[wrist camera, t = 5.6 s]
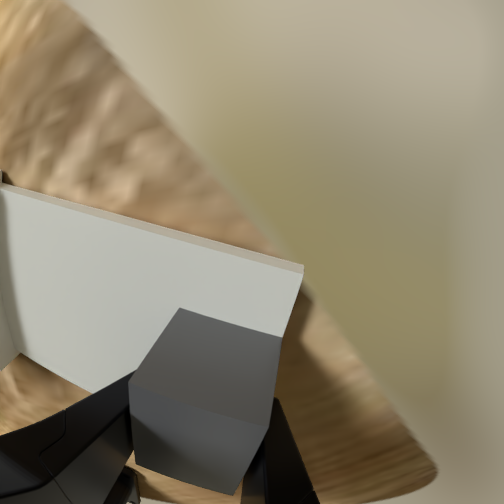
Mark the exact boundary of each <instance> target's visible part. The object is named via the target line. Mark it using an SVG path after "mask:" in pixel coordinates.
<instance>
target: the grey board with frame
mask: <svg viewBox="0 0 504 504" xmlns="http://www.w3.org/2000/svg"><path fill="white" fill-rule="evenodd" d="M303 276H304V265H301V264H298V263H294V262H290V261H287V260H283V259H279V258H276V257H272V256H269V255H265V254H261V253H258V252H254V251H250V250H247V249H243V248H239V247H236V246H232V245H228V244H225V243H221V242H217V241H214V240H210V239H207V238H203V237H199V236H196V235H192V234H188V233H185V232H181V231H177V230H174V229H170V228H166V227H163V226H159V225H155V224H152V223H148V222H144V221H141V220H137V219H133V218H130V217H126V216H122V215H119V214H115V213H112V212H108V211H104V210H101V209H97V208H93V207H90V206H86V205H82V204H79V203H75V202H71V201H68V200H64V199H60V198H57V197H53V196H49V195H46V194H42V193H38V192H35V191H31V190H27V189H24V188H20V187H16V186H12V185H9V184H5V183H2V170H0V371H2V370H3V369H4V368H5V367H6V366H7V365H8V364H9V363H10V362H11V361H12V360H13V359H14V358H15V357H17V356H18V355H19V354H20V353H22V354H24V355H25V356H27V357H29V358H30V359H32V360H33V361H35V362H37V363H38V364H40V365H42V366H43V367H45V368H47V369H48V370H50V371H52V372H53V373H55V374H57V375H59V376H61V377H62V378H64V379H66V380H68V381H70V382H72V383H73V384H75V385H77V386H79V387H81V388H83V389H85V390H87V391H89V392H91V393H95V392H97V391H99V390H101V389H102V388H104V387H106V386H108V385H110V384H111V383H113V382H115V381H117V380H119V379H120V378H122V377H124V376H126V375H127V374H129V373H131V372H133V371H134V370H136V369H137V370H136V371H135V373H134V374H133V376H132V377H131V379H130V380H129V382H128V387H129V403H130V416H131V427H132V437H133V446H134V454H135V462H136V464H137V465H139V466H142V467H144V468H147V469H149V470H152V471H154V472H157V473H160V474H162V475H165V476H168V477H171V478H174V479H177V480H180V481H183V482H186V483H189V484H192V485H195V486H199V487H202V488H205V489H209V490H213V491H216V492H220V493H224V494H228V495H232V496H233V495H234V493H235V491H236V489H237V487H238V486H239V484H240V482H241V480H242V478H243V476H244V475H245V473H246V471H247V469H248V467H249V465H250V463H251V461H252V459H253V457H254V456H255V454H256V452H257V450H258V448H259V446H260V444H261V442H262V440H263V438H264V436H265V434H266V432H267V430H268V428H269V422H270V416H271V410H272V404H273V398H274V391H275V385H276V378H277V371H278V365H279V358H280V351H281V344H282V337H283V334H284V331H285V329H286V326H287V323H288V320H289V317H290V314H291V311H292V309H293V306H294V303H295V300H296V297H297V294H298V291H299V288H300V285H301V282H302V279H303Z"/></svg>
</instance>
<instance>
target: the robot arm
mask: <svg viewBox="0 0 504 504" xmlns="http://www.w3.org/2000/svg"><path fill="white" fill-rule="evenodd" d="M136 370H137V369H136ZM136 370H134V371H133V372H131V373H129V374H127V375H126V376H124V377H122V378H120V379H119V380H117V381H115V382H113V383H111V384H110V385H108V386H106V387H104V388H102V389H101V390H99V391H97V392H95V393H93V394H92V395H90V396H88V397H86V398H84V399H82V400H81V401H79V402H77V403H75V404H73V405H71V406H69V407H68V408H66V409H65V410H62V411H60V412H58V413H56V414H54V415H52V416H50V417H48V418H46V419H44V420H42V421H39V422H37V423H34V424H32V425H29V426H27V427H24V428H21V429H18V430H15V431H13V432H10V433H7V434H4V435H1V436H0V504H126V503H127V502H129V503H132V504H140V501H141V500H140V495H139V489H138V483H137V477H136V474H135V473H134V472H133V471H131V470H130V469H127V468H125V467H124V466H125V464H126V462H127V460H128V459H129V457H130V455H131V453H132V452H133V450H134V446H133V437H132V427H131V416H130V403H129V387H128V382H129V380H130V379H131V377H132V376H133V374H134V373H135V371H136ZM313 489H314V488H313V486H312V483H311V481H310V478H309V476H308V473H307V471H306V468H305V466H304V463H303V461H302V458H301V456H300V453H299V450H298V448H297V445H296V443H295V440H294V438H293V435H292V433H291V430H290V427H289V425H288V422H287V420H286V417H285V414H284V412H283V409H282V407H281V404H280V401H279V399H278V398H275V397H274V398H273V404H272V410H271V416H270V422H269V428H268V430H267V432H266V434H265V436H264V438H263V440H262V442H261V444H260V446H259V448H258V450H257V452H256V454H255V456H254V457H253V459H252V461H251V463H250V465H249V467H248V469H247V471H246V473H245V475H244V478H243V487H242V495H241V503H240V504H320V502H319V500H318V498H317V495H316V493H315V491H314V490H313ZM312 490H313V491H312Z"/></svg>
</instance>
